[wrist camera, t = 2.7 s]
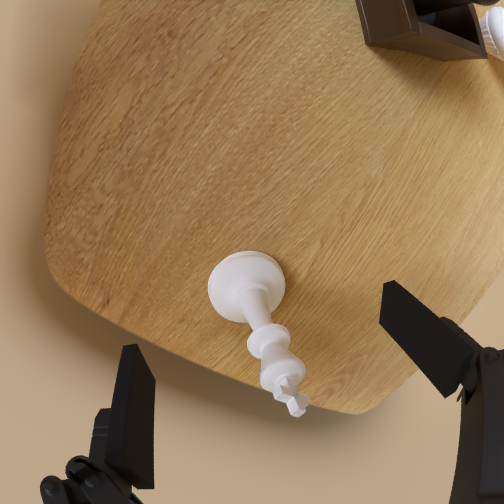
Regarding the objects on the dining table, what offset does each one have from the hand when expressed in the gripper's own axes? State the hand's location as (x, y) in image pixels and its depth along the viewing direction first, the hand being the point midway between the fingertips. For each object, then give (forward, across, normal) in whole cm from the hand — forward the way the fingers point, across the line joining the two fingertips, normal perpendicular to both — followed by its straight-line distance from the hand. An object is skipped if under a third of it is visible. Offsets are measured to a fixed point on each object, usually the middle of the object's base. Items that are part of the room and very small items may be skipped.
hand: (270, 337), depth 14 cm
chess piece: (+5, 0, 0) cm, 5 cm away
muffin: (+5, +26, +19) cm, 33 cm away
